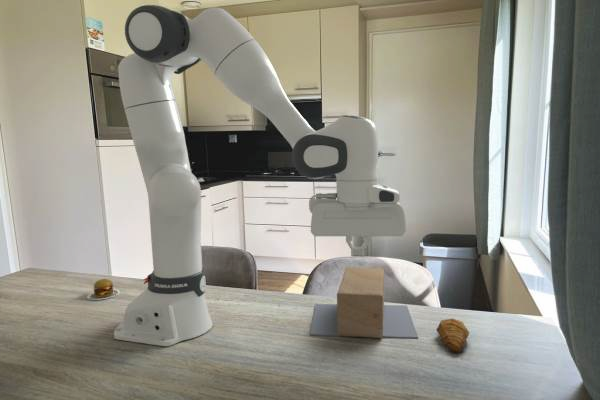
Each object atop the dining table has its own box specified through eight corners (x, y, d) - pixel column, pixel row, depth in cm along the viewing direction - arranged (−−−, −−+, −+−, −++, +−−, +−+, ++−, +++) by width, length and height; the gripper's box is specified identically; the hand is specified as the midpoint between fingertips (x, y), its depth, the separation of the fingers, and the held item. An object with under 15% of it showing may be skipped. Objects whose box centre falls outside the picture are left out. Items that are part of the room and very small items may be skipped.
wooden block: (382, 295, 90) (383, 267, 109) (336, 293, 92) (345, 266, 111) (382, 339, 91) (383, 304, 111) (337, 335, 93) (346, 302, 113)
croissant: (434, 326, 98) (434, 305, 97) (465, 328, 96) (465, 307, 96) (437, 354, 85) (438, 330, 85) (473, 357, 83) (473, 334, 83)
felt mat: (309, 335, 94) (309, 334, 94) (316, 304, 112) (315, 303, 112) (418, 338, 92) (418, 337, 92) (406, 306, 109) (406, 305, 109)
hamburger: (77, 296, 125) (75, 279, 125) (119, 287, 133) (117, 270, 132) (85, 308, 116) (83, 289, 115) (130, 297, 123) (128, 279, 122)
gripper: (307, 195, 87) (308, 259, 89) (407, 194, 84) (406, 260, 86) (310, 191, 93) (311, 251, 95) (403, 190, 91) (403, 252, 93)
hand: (357, 255), depth 91 cm, fingers closed
